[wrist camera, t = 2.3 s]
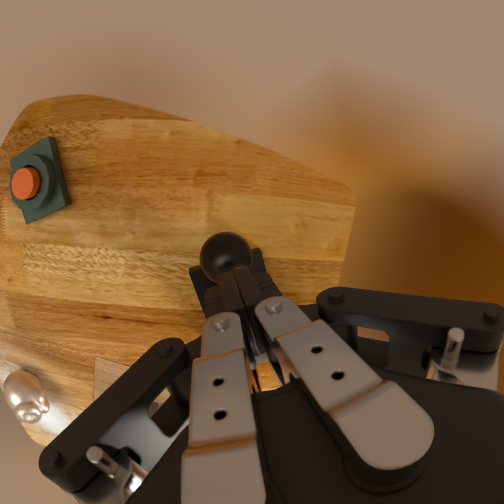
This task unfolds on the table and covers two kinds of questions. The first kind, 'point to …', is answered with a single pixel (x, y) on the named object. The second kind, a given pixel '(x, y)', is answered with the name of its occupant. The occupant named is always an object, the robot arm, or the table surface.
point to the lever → (227, 261)
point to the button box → (42, 180)
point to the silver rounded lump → (25, 396)
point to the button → (25, 183)
